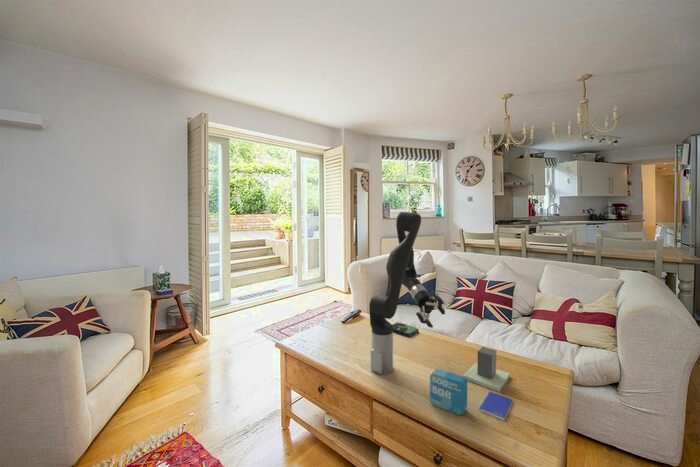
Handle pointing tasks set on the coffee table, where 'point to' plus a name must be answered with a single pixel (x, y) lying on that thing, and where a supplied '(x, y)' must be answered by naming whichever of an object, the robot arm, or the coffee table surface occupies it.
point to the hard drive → (496, 405)
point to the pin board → (493, 383)
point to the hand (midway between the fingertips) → (437, 320)
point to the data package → (448, 391)
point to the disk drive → (404, 329)
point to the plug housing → (486, 362)
